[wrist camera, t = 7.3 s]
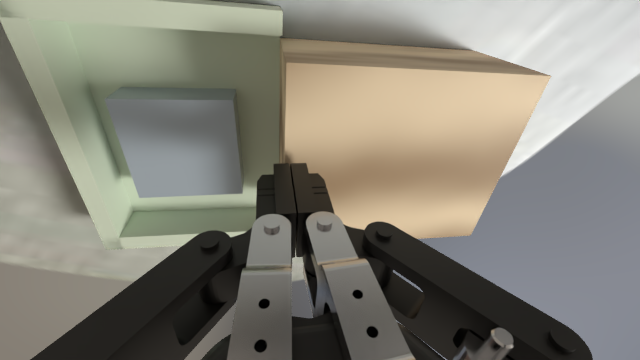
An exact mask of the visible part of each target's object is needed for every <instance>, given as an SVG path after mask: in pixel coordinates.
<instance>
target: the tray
mask: <svg viewBox="0 0 640 360" xmlns="http://www.w3.org/2000/svg"><path fill="white" fill-rule="evenodd" d="M0 22H1V24H2V26H3V28H4V30H5V33H6V35H7V37H8V39H9V41H10V43H11V46H12V48H13V50H14V52H15V54H16V56H17V58H18V61H19V63H20V65H21V67H22V69H23V71H24V74H25V76H26V78H27V80H28V82H29V84H30V87H31V89H32V91H33V93H34V95H35V97H36V99H37V102H38V104H39V106H40V108H41V110H42V112H43V115H44V117H45V119H46V121H47V123H48V125H49V128H50V130H51V132H52V134H53V136H54V138H55V141H56V143H57V145H58V147H59V149H60V151H61V153H62V156H63V158H64V160H65V162H66V164H67V166H68V169H69V171H70V173H71V175H72V177H73V179H74V182H75V184H76V186H77V188H78V190H79V192H80V194H81V197H82V199H83V201H84V203H85V205H86V207H87V210H88V212H89V214H90V216H91V218H92V220H93V223H94V225H95V227H96V229H97V231H98V233H99V236H100V238H101V240H102V242H103V244H104V246H105V248H106V250H113V249H131V248H149V247H166V246H183V245H184V244H186V243H187V242H188V241H190V240H191V239H192V238H194V237H195V236H197V235H198V234H200V233H203V232H206V231H211V230H218V231H222V232H225V233H227V234H228V235H229V236H230V237H234V236H237V235H240V234H243V233H245V232H246V231H248V230H249V229H251V228H252V226H253V223H254V222H255V221H256V197H257V181H258V179H259V178H260V177H261V175H269V174H274V171H273V164H278V163H279V108H280V36H282V28H283V11H282V9H281V8H280V6H271V5H259V4H248V3H236V2H224V1H212V0H0ZM120 87H162V88H222V89H236V93H237V103H238V114H239V124H240V135H241V145H242V156H243V166H244V186H243V194H223V195H199V196H175V197H151V198H139V196H138V193H137V190H136V187H135V184H134V182H133V179H132V176H131V173H130V170H129V167H128V165H127V162H126V159H125V156H124V153H123V150H122V148H121V145H120V142H119V139H118V136H117V133H116V131H115V128H114V125H113V122H112V119H111V116H110V114H109V111H108V108H107V105H106V102H105V98H107V97H108V96H109V95H111V94H112V93H113V92H115V91H116V90H117V89H119V88H120Z"/></svg>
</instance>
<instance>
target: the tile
mask: <svg viewBox="0 0 640 360" xmlns="http://www.w3.org/2000/svg"><path fill="white" fill-rule="evenodd" d="M105 102H106V105H107V108H108V111H109V114H110V116H111V119H112V122H113V125H114V128H115V131H116V133H117V136H118V139H119V142H120V145H121V148H122V150H123V153H124V156H125V159H126V162H127V165H128V167H129V170H130V173H131V176H132V179H133V182H134V184H135V187H136V190H137V193H138V196H139V198H151V197H175V196H199V195H223V194H243V186H244V166H243V156H242V145H241V135H240V124H239V114H238V103H237V93H236V89H222V88H162V87H120V88H119V89H117V90H116V91H115V92H113V93H112V94H111V95H109V96H108V97H107V98H105Z"/></svg>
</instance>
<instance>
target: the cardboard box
mask: <svg viewBox="0 0 640 360" xmlns="http://www.w3.org/2000/svg"><path fill="white" fill-rule="evenodd" d="M550 77H551V76H550V75H546V74H543V73H540V72H537V71H534V70H531V69H528V68H525V67H522V66H519V65H516V64H513V63H510V62H507V61H504V60H501V59H498V58H495V57H492V56H489V55H486V54H483V53H479V52H476V51H473V50H457V49H442V48H427V47H412V46H396V45H381V44H366V43H351V42H336V41H320V40H305V39H290V38H280V108H279V163H289V164H290V163H306V164H307V168H308V172H309V173H318V174H319V175H320V176H321V177H322V178H323V179H324V180H325V184H326V188H327V190H328V194H329V197H330V200H331V203H332V206H333V210H334V213H335V215H337V216H338V217H339V218H340V219H341V220H342V222H343V224H344V225H346V226H349V227H352V228H357V229H363V230H365V228H366V226H367V225H368V224H370V223H372V222H378V221H379V222H386V223H389V224H392V225H394V226H395V227H397V228H399V229H400V230H402V231H404V232H406V233H407V234H409V235H411V236H412V237H414V238H416V239H420V238H436V237H452V236H468V235H471V233H472V232H473V229H474V227H475V226H476V224H477V222H478V219H479V218H480V216H481V214H482V212H483V210H484V208H485V206H486V204H487V202H488V200H489V198H490V196H491V194H492V192H493V190H494V188H495V186H496V184H497V182H498V180H499V178H500V176H501V174H502V172H503V170H504V168H505V166H506V164H507V162H508V160H509V158H510V156H511V154H512V153H513V151H514V149H515V147H516V145H517V143H518V141H519V139H520V137H521V135H522V133H523V131H524V129H525V127H526V125H527V123H528V121H529V119H530V117H531V115H532V113H533V111H534V109H535V107H536V105H537V103H538V101H539V99H540V97H541V95H542V93H543V91H544V89H545V87H546V85H547V83H548V81H549V79H550Z"/></svg>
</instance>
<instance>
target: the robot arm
mask: <svg viewBox="0 0 640 360" xmlns="http://www.w3.org/2000/svg"><path fill="white" fill-rule="evenodd" d="M273 171H274V174H269V175H261V177H260V178H259V179H258V181H257V197H256V221H255V222H254V223H253V226H252V228H251V229H249V230H248V231H246V232H245V233H243V234H240V235H237V236H234V237H230V236H229V235H228V234H227V233H225V232H222V231H218V230H211V231H206V232H203V233H200V234H198V235H197V236H195V237H194V238H192V239H191V240H190V241H188V242H187V243H186V244H184V245H183V246H182V247H180V248H179V249H178V250H176V251H175V252H174V253H172V254H171V255H170V256H168V257H167V258H166V259H164V260H163V261H162V262H160V263H159V264H158V265H156V266H155V267H154V268H152V269H151V270H150V271H148V272H147V273H146V274H144V275H143V276H142V277H140V278H139V279H138V280H136V281H135V282H134V283H132V284H131V285H130V286H128V287H127V288H126V289H124V290H123V291H122V292H120V293H119V294H118V295H116V296H115V297H114V298H112V299H111V300H110V301H108V302H107V303H106V304H104V305H103V306H102V307H100V308H99V309H97V310H96V311H95V312H94V313H92V314H91V315H90V316H88V317H87V318H86V319H84V320H83V321H82V322H80V323H79V324H78V325H76V326H75V327H74V328H72V329H71V330H69V331H68V332H67V333H65V334H64V335H63V336H62V337H60V338H59V339H57V340H56V341H55V342H54V343H52V344H51V345H49V346H48V347H47V348H45V349H44V350H43V351H41V352H40V353H39V354H37V355H36V356H35V357H34V358H32V359H31V360H184V359H185V358H186V357H187V356H188V354H189V353H190V352H191V351H192V350H193V349H194V348H195V347H196V346H197V344H198V343H199V342H200V341H201V340H202V339H203V338H204V337H205V335H206V334H207V333H208V332H209V331H210V330H211V329H212V328H213V327H214V326H215V325H216V324H217V322H218V321H219V320H220V319H221V318H222V317H223V316H224V315H225V313H226V312H227V311H228V310H229V309H230V308H231V307H232V306H233V305H234V303H235V302H236V300H237V303H236V308H235V314H234V320H233V326H232V333H231V334H230V335H228V336H227V337H225V338H224V339H222V340H221V341H220V342H218V343H217V344H216V345H215V346H214V347H213V348H212V349H211V350H210V351H209V352H207V354H206V355H205V356H204V357H203V358H202V360H445V359H444V358H442V357H441V356H440V355H438V353H439V354H441V355H442V356H443V357H445V358H446V359H447V360H593V358H592V354H591V352H590V350H589V348H588V346H587V345H586V344H585V342H584V341H583V340H582V339H581V338H580V336H579V335H578V334H576V333H575V332H574V331H573V330H572V329H570V328H569V327H567V326H566V325H564V324H562V323H561V322H559V321H557V320H555V319H554V318H552V317H550V316H548V315H547V314H545V313H543V312H542V311H540V310H538V309H537V308H535V307H533V306H531V305H530V304H528V303H526V302H524V301H523V300H521V299H519V298H518V297H516V296H514V295H512V294H511V293H509V292H507V291H505V290H504V289H502V288H500V287H499V286H496V285H495V284H493V283H492V282H490V281H488V280H487V279H484V278H483V277H481V276H480V275H478V274H476V273H475V272H472V271H471V270H469V269H468V268H466V267H464V266H462V265H461V264H459V263H457V262H455V261H454V260H452V259H450V258H449V257H447V256H445V255H444V254H442V253H440V252H438V251H437V250H435V249H433V248H431V247H430V246H428V245H426V244H425V243H423V242H421V241H419V240H418V239H416V238H414V237H412V236H411V235H409V234H407V233H406V232H404V231H402V230H400V229H399V228H397V227H395V226H394V225H392V224H389V223H386V222H379V221H378V222H372V223H370V224H368V225H367V226H366V228H365V230H363V229H357V228H352V227H349V226H346V225H344V224H343V222H342V220H341V219H340V218H339V217H338V216H337V215H335V213H334V210H333V206H332V203H331V200H330V197H329V194H328V190H327V188H326V184H325V180H324V179H323V178H322V177H321V176H320V175H319V174H318V173H309V172H308V168H307V164H306V163H290V164H289V163H278V164H273ZM295 248H296V256H297V257H303V263H304V265H303V275H304V279H305V284H306V288H307V292H308V297H309V301H310V305H311V310H312V314H313V318H310V319H308V318H301V317H293V316H292V258H293V257H295ZM393 270H395V271H396V272H398V273H400V274H401V275H402V276H404V277H405V278H407V279H408V280H410V281H411V282H413V283H414V284H416V285H417V286H418V287H420V289H421V290H422V291H423V292H421V291H420V290H418V289H417V288H415V287H414V286H412V285H411V284H409V283H408V282H406V281H405V280H403V279H402V278H401V277H399V276H398V275H396V274H395V273H393ZM395 319H396V320H397V321H398V322H400V323H401V324H402V325H401V324H400V323H398V322H396V320H395ZM404 326H405V327H404ZM408 329H409V330H408ZM413 333H414V334H413ZM417 336H418V337H419V338H420V339H419V338H418V337H417ZM422 340H423V341H424V342H425V343H424V342H423V341H422ZM426 343H427V344H428V345H429V346H430V347H432V348H433V349H434V350H436V351H437V352H438V353H436V352H435V351H434V350H432V348H430V347H429V346H428V345H427V344H426Z"/></svg>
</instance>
